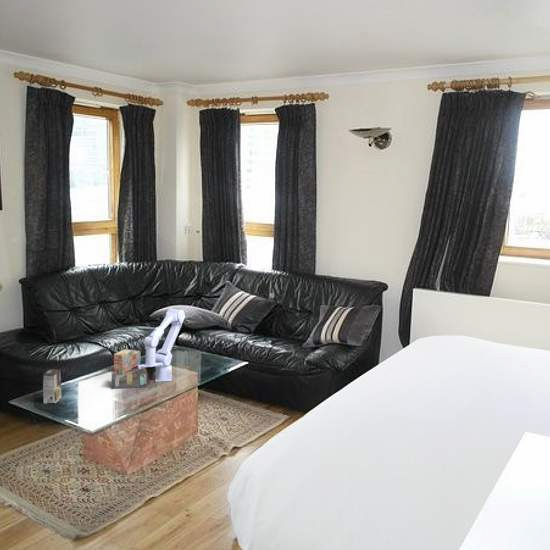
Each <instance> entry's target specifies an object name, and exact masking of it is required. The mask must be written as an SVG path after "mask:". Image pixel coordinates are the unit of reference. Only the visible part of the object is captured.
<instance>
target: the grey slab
mask: <svg viewBox="0 0 550 550" xmlns="http://www.w3.org/2000/svg"><path fill="white" fill-rule="evenodd" d="M139 388H140V389H141V388H145V389H146V388H148V379H147V378H146V384H144V385H140V378H138V379H132V385H127V379H120V374H117V373H112V374H111V390H117V389H139Z"/></svg>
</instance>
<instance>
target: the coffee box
mask: <svg viewBox="0 0 550 550" xmlns="http://www.w3.org/2000/svg"><path fill="white" fill-rule="evenodd" d="M61 375H62V372H61V369H54V368H53V369H51V368H50V369H48V370H47V371H45V372H44V373H43V374H42V387H43V388H42V389H43V393H42V394H43V396H42V397H43V404H47V403H55V404H56V403H57V402H59V399H60V398H61V399H62V376H61ZM61 399H60V400H61Z"/></svg>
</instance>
